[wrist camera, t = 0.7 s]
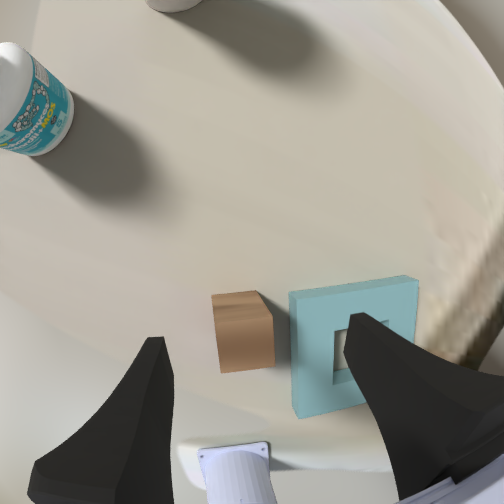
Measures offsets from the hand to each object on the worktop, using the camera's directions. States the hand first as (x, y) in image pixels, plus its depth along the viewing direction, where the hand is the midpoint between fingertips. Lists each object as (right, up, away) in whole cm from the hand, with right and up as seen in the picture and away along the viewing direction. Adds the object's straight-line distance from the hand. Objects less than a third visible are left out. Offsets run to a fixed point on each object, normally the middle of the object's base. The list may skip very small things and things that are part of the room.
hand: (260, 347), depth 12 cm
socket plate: (+10, -6, +19) cm, 22 cm away
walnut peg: (-2, -2, +17) cm, 17 cm away
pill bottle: (-20, +16, +12) cm, 28 cm away
